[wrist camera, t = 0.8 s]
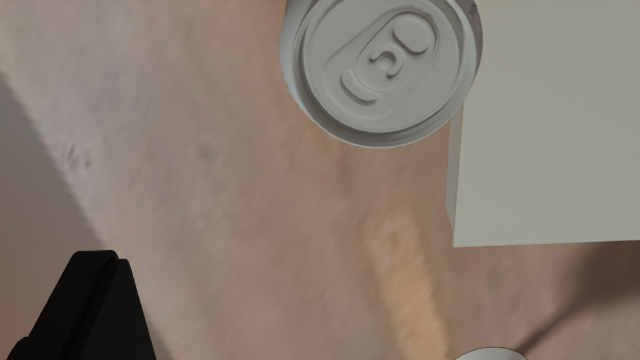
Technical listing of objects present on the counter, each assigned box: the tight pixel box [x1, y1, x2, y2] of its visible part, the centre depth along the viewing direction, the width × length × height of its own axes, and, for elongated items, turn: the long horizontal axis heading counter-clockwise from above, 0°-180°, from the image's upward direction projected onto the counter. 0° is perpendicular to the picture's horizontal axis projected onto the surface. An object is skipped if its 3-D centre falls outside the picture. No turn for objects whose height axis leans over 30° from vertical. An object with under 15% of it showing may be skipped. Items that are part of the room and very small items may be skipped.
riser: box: [445, 0, 640, 247], centre depth 32 cm, size 14×12×4 cm
